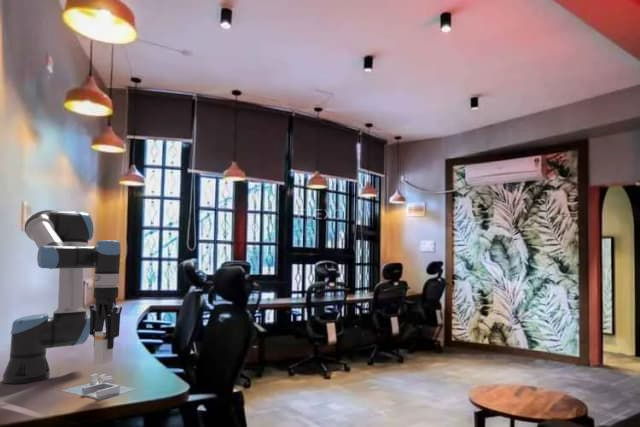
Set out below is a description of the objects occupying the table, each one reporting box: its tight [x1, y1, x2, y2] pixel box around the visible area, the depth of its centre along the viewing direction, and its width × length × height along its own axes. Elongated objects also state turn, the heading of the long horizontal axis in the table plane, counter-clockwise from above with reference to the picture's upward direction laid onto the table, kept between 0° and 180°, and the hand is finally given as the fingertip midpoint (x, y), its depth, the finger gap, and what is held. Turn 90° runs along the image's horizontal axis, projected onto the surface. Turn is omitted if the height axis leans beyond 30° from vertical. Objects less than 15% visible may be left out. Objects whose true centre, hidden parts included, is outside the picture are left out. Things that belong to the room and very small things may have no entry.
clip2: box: [101, 375, 114, 384], centre depth 161 cm, size 4×3×3 cm
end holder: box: [81, 382, 121, 400], centre depth 154 cm, size 8×8×2 cm
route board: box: [60, 380, 137, 401], centre depth 159 cm, size 20×14×1 cm
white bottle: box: [93, 329, 114, 365], centre depth 155 cm, size 4×4×10 cm
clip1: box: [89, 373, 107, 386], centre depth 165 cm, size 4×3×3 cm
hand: (102, 358), depth 155 cm, fingers closed on white bottle, 4 cm apart
